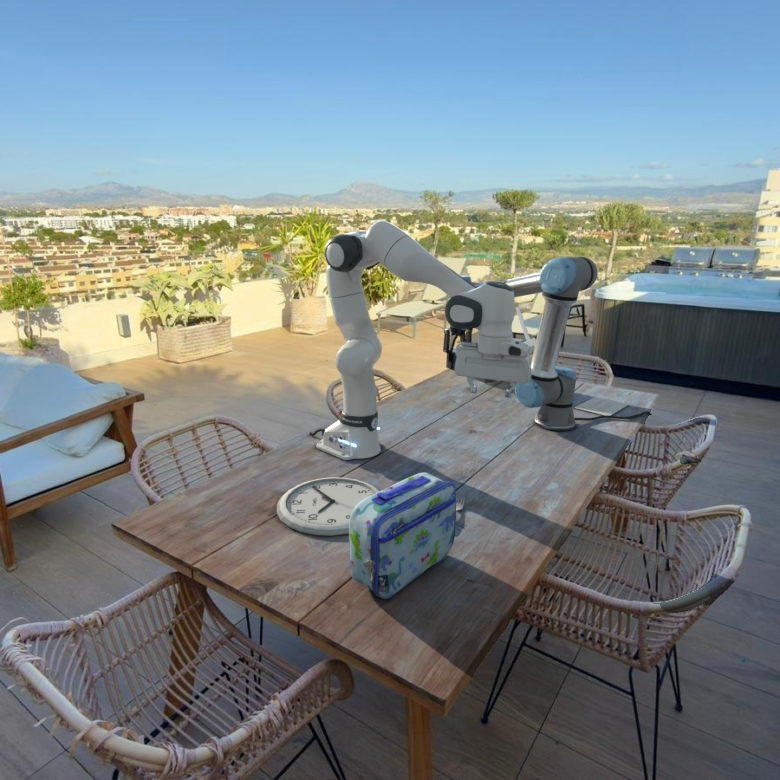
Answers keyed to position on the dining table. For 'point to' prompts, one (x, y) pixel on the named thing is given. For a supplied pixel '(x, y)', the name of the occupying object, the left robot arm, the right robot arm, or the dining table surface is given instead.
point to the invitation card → (601, 406)
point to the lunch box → (401, 532)
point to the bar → (474, 378)
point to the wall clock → (323, 505)
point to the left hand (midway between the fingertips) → (490, 394)
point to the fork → (459, 506)
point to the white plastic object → (526, 333)
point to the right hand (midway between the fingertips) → (456, 367)
